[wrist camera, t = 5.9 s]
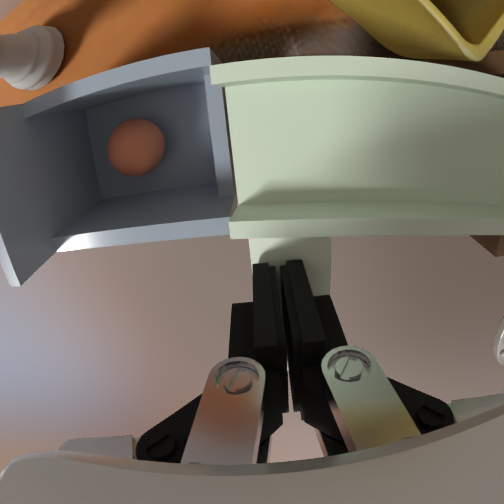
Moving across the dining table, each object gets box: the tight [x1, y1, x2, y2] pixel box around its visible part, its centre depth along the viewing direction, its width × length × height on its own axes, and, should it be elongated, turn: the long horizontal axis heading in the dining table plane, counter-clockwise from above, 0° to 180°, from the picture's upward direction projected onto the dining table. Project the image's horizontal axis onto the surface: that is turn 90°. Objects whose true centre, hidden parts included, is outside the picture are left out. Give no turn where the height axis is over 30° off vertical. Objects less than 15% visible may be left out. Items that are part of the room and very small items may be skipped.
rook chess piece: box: [0, 25, 64, 90], centre depth 10 cm, size 4×4×8 cm
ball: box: [107, 118, 165, 176], centre depth 14 cm, size 3×3×3 cm
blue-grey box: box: [0, 47, 238, 286], centre depth 12 cm, size 7×9×9 cm
